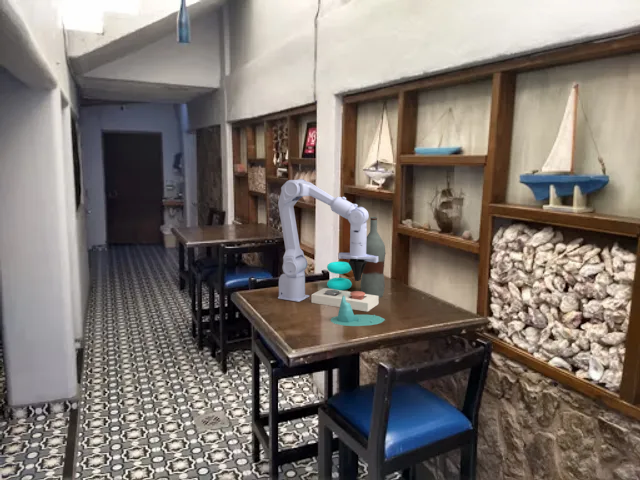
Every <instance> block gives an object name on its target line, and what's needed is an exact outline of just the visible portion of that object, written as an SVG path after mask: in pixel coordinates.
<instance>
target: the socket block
mask: <svg viewBox="0 0 640 480" xmlns="http://www.w3.org/2000/svg"><path fill="white" fill-rule="evenodd" d="M327 290H335V289H330V288H329V287H323V288H321V289H320V290H318V291H316V292H314V293H312V294H311V297H310V298H311V303H312V304H317V305H318V304H319V305H324V306H331V307H337V308H340V304H341V300H342V296H345V298H346V302H347V303H350V305H351V308H352V310H353V311H360V312H361V311H362V312H366V313H368V312H370V311H371V310H372V309H373V308H375V307H376V306H378V305H379V304H380V303H379V302H380V301H379V299H380V298H379V296H376V295H369V294H365V295H364V296H363V299H362V300H358V299H352V296H351V295H350V293H351V292H352V291H348V290H338V291H340V294H338V295H337V296H331V295H327V294H326V293H325V291H327Z"/></svg>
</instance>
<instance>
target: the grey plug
mask: <svg viewBox="0 0 640 480" xmlns="http://www.w3.org/2000/svg"><path fill="white" fill-rule="evenodd" d="M325 293H326V294H327V295H331V296H337V295H338V294H340V291H338V290H327V291H325Z"/></svg>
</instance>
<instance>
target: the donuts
mask: <svg viewBox="0 0 640 480" xmlns="http://www.w3.org/2000/svg"><path fill="white" fill-rule="evenodd" d="M326 268H327V269H326V270H327V271H328V272H329V273H332V274H335V275H343V274H348V273H350V272H351V271H352V269H351V267H350V265H349V262H347V261H331V262H329V263H328V264H327V266H326ZM326 283H327V284H326V286H327V288H328V289H335V290H342V291H348V290H349V289H350V288H352V286H353V283H352V281H351V280H350V279H349V278H345V277H333V278H330V279H329V280H328V281H327V282H326Z"/></svg>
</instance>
